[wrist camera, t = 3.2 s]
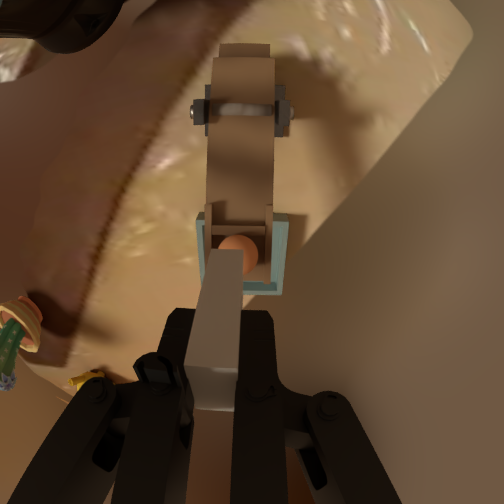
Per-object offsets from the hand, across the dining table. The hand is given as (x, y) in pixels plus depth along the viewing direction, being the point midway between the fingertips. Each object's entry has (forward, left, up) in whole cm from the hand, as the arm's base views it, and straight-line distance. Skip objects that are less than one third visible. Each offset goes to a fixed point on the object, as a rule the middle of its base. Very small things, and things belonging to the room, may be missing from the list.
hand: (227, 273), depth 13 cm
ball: (+5, 0, -9) cm, 10 cm away
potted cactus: (+32, -55, -26) cm, 68 cm away
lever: (-2, 0, -18) cm, 18 cm away
